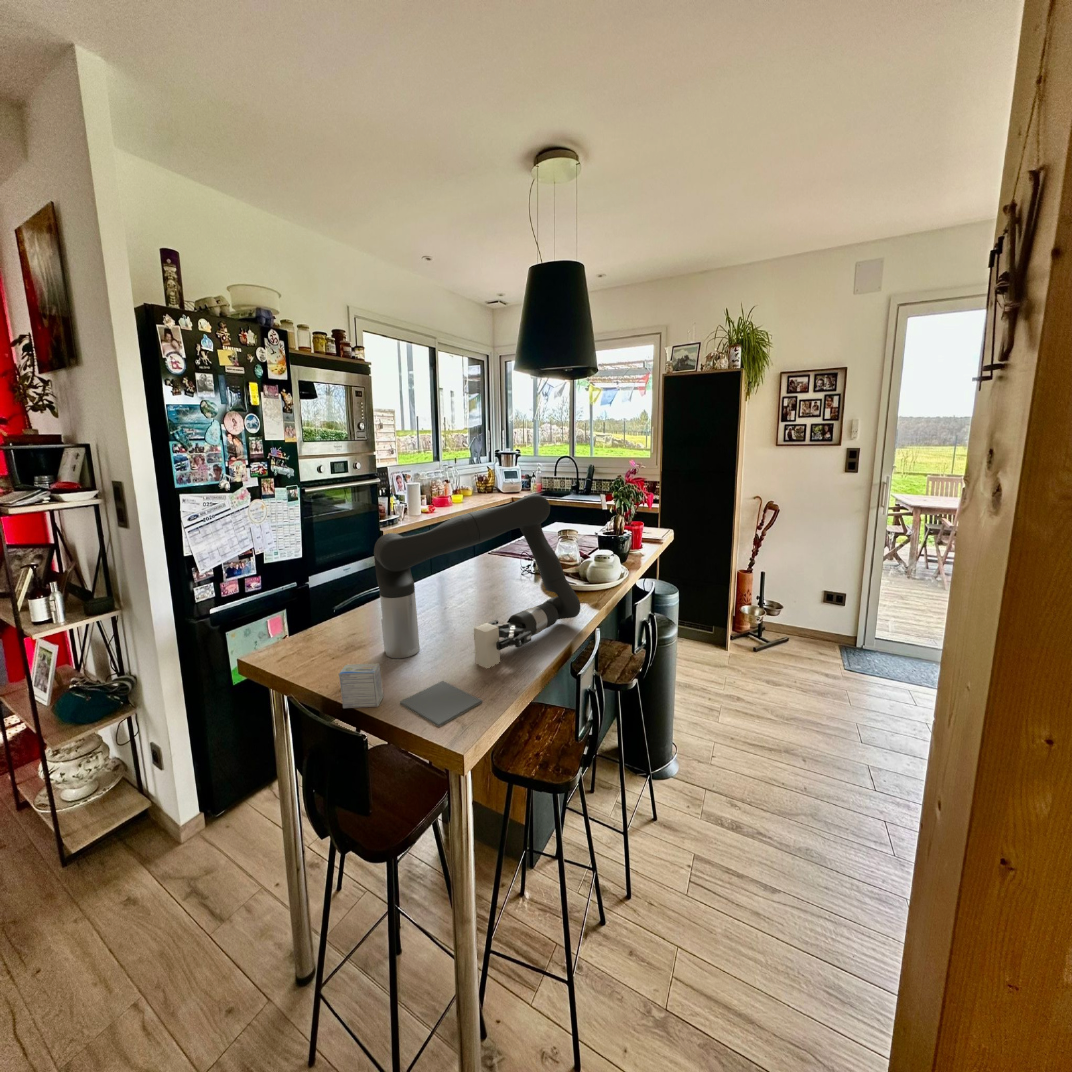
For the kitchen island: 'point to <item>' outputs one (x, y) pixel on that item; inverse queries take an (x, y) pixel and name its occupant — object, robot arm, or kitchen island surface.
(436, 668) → the kitchen island surface
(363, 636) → the kitchen island surface
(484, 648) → the cream block
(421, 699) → the slate mat
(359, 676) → the medicine box
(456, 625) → the kitchen island surface
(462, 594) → the kitchen island surface
